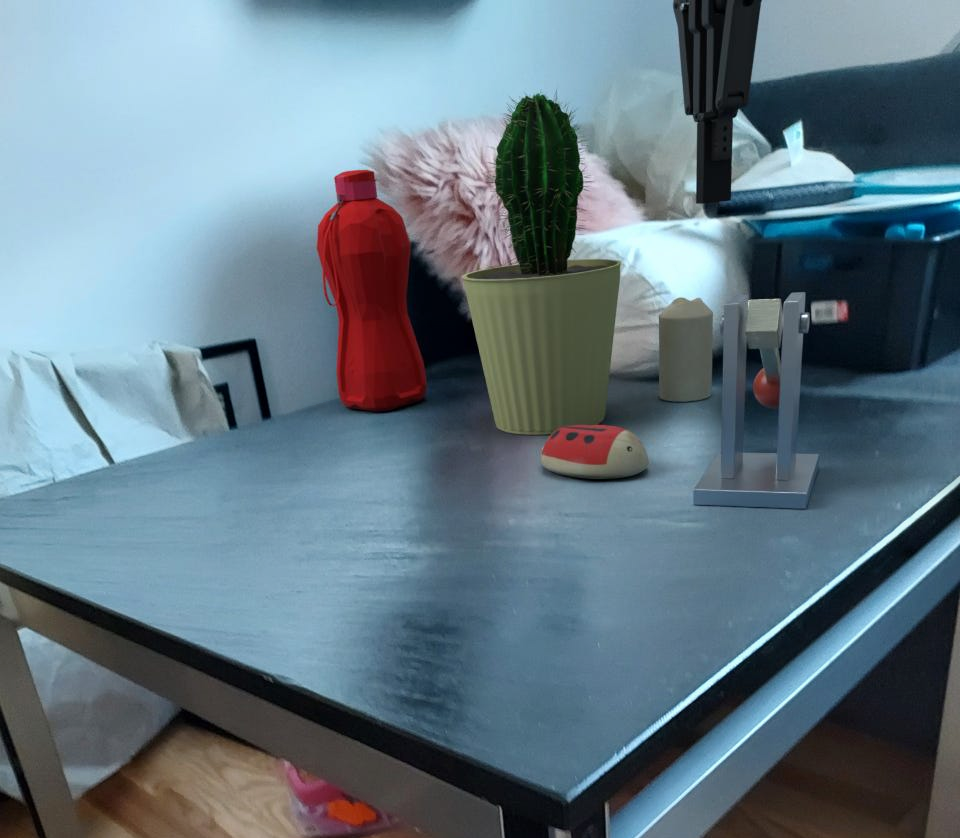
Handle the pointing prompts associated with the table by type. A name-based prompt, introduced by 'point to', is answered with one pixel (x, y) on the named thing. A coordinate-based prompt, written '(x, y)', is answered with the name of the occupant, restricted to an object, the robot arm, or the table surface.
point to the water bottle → (370, 297)
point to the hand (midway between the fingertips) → (713, 201)
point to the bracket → (731, 470)
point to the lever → (766, 347)
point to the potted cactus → (543, 285)
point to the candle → (685, 351)
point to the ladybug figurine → (594, 452)
